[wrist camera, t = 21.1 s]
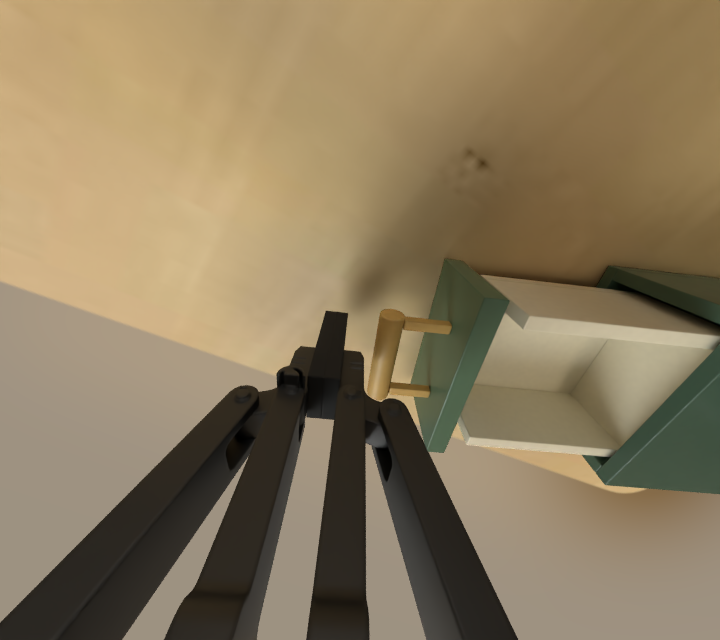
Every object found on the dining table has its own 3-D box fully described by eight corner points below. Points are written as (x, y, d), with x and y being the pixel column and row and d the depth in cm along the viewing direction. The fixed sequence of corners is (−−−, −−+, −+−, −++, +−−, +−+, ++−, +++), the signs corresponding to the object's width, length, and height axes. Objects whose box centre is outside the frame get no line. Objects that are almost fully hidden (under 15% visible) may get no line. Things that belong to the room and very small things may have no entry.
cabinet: (532, 392, 24) (605, 485, 16) (608, 265, 18) (772, 323, 11) (681, 407, 24) (813, 501, 17) (802, 288, 18) (1080, 357, 11)
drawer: (362, 378, 22) (362, 446, 16) (382, 251, 17) (392, 287, 11) (561, 397, 23) (625, 468, 17) (640, 280, 17) (769, 328, 12)
